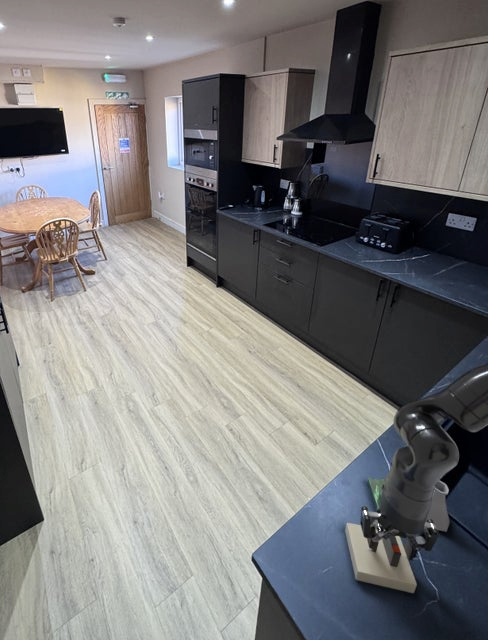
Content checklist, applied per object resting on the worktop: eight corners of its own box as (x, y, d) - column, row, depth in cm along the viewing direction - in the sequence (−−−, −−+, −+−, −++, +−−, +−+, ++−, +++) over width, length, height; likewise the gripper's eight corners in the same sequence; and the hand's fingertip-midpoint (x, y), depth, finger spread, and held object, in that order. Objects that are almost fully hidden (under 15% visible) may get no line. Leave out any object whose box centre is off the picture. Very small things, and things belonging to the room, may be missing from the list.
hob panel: (400, 542, 74) (403, 533, 73) (418, 594, 65) (422, 585, 64) (344, 530, 76) (346, 521, 75) (355, 580, 68) (358, 570, 67)
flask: (412, 493, 84) (420, 465, 80) (447, 508, 80) (457, 480, 77) (414, 520, 78) (423, 492, 75) (451, 538, 74) (462, 509, 71)
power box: (399, 489, 85) (403, 478, 83) (413, 524, 77) (417, 513, 76) (367, 483, 86) (369, 473, 85) (377, 517, 79) (380, 506, 77)
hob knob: (382, 539, 72) (385, 526, 70) (388, 541, 72) (392, 527, 70) (389, 565, 68) (394, 551, 66) (397, 567, 67) (401, 553, 66)
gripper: (372, 511, 62) (359, 564, 67) (457, 527, 59) (436, 582, 64) (360, 472, 69) (349, 523, 74) (436, 485, 66) (419, 538, 71)
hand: (390, 550), depth 69 cm, fingers open, 6 cm apart
